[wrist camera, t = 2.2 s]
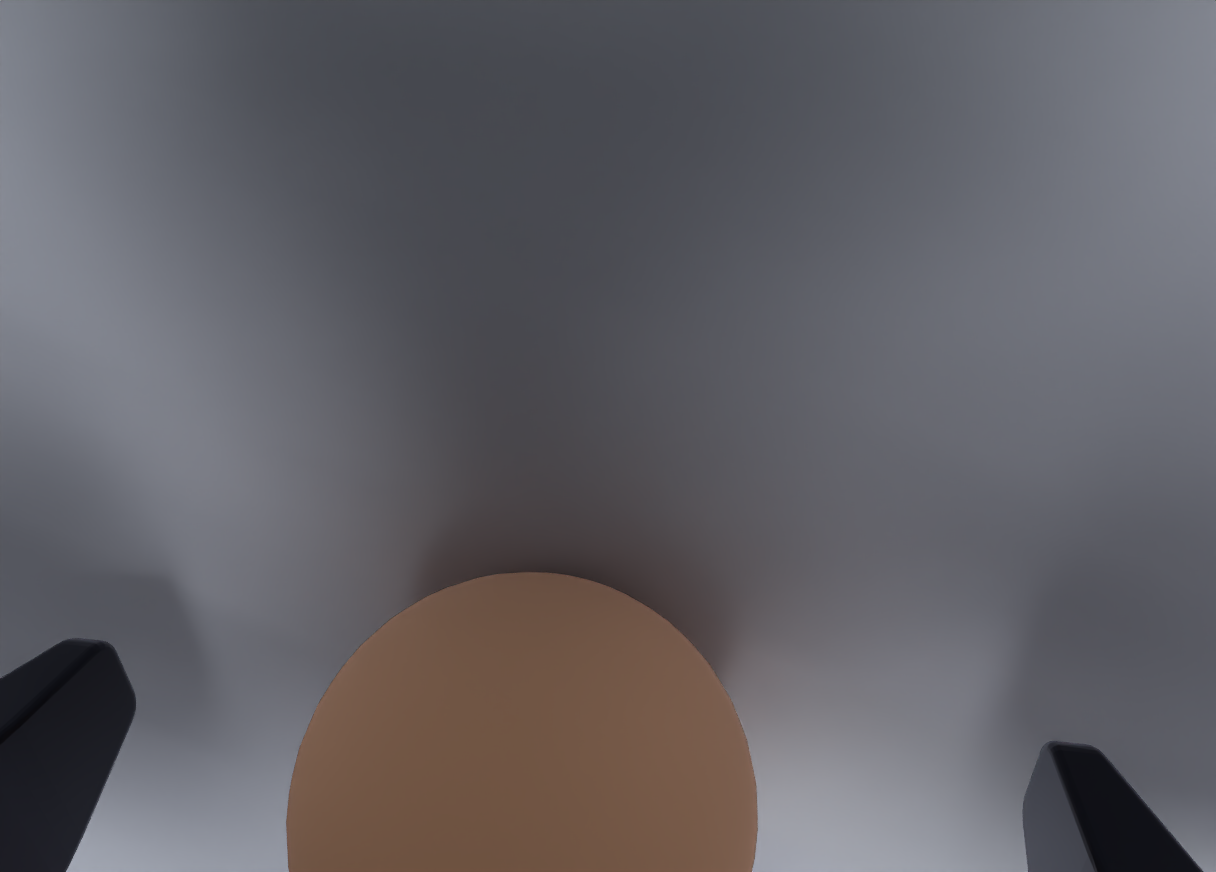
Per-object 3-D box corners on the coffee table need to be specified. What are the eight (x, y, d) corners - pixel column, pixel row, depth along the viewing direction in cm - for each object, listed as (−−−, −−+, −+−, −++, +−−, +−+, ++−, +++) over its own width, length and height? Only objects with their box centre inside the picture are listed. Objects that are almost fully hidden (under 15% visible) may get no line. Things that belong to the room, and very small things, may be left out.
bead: (412, 739, 11) (263, 1121, 8) (354, 467, 9) (114, 846, 6) (751, 777, 11) (735, 1204, 8) (777, 499, 9) (770, 936, 5)
